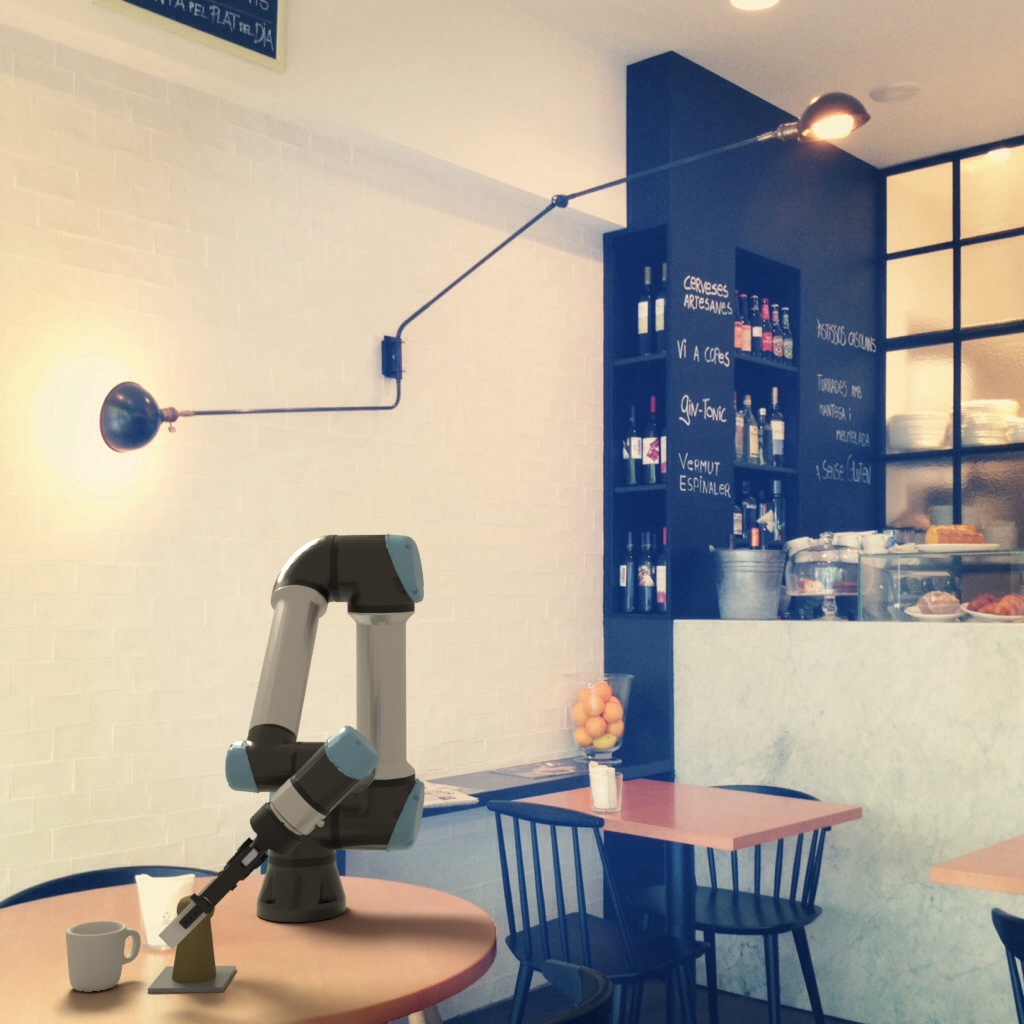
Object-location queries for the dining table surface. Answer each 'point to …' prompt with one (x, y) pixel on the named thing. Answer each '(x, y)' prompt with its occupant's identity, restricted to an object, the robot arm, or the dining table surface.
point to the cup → (98, 954)
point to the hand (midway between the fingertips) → (177, 928)
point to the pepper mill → (195, 950)
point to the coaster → (168, 985)
